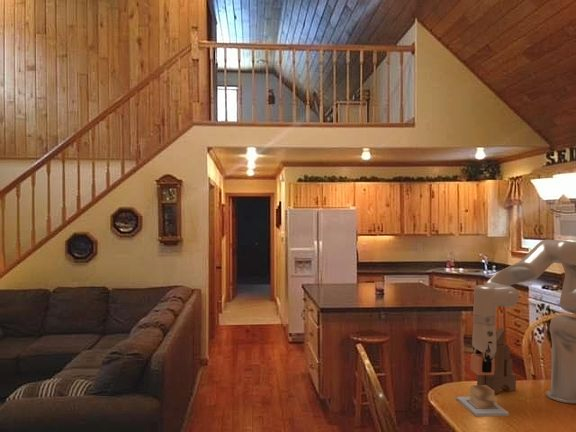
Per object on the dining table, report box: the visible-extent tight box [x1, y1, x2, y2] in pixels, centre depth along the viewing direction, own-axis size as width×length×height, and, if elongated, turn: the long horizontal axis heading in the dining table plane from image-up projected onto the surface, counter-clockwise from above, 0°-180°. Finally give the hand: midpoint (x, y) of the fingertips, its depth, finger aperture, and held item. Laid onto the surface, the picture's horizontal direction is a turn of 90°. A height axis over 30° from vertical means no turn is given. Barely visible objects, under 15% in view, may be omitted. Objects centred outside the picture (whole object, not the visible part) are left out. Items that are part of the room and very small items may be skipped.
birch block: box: [469, 384, 495, 408], centre depth 188 cm, size 6×6×6 cm
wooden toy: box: [476, 327, 517, 396], centre depth 206 cm, size 16×7×25 cm, turn 118°
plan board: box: [456, 396, 510, 417], centre depth 188 cm, size 12×16×1 cm
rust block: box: [470, 353, 495, 375], centre depth 188 cm, size 6×6×6 cm
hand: (482, 368), depth 188 cm, fingers closed on rust block, 6 cm apart
